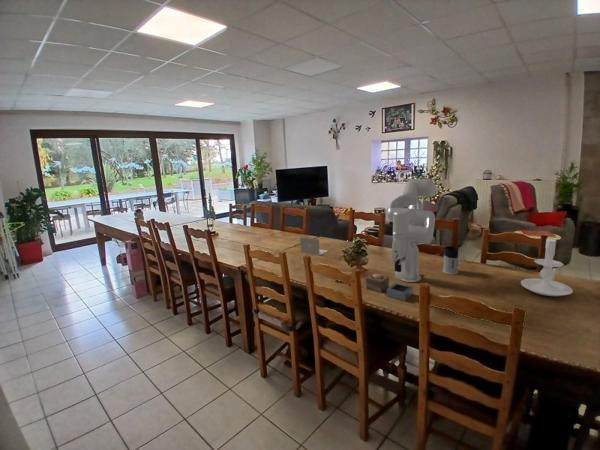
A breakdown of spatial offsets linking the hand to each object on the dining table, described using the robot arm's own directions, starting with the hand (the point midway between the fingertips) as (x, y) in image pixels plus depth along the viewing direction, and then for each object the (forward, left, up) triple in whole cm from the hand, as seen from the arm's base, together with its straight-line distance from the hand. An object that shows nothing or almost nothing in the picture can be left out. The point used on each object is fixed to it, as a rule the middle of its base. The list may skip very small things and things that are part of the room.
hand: (400, 269), depth 160 cm
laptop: (-35, -86, -15) cm, 94 cm away
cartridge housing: (0, 0, -14) cm, 14 cm away
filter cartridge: (0, 0, -5) cm, 5 cm away
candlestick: (-46, +57, -14) cm, 74 cm away
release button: (-2, -14, -13) cm, 19 cm away
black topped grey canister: (-46, +13, -14) cm, 50 cm away
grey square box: (-2, -14, -14) cm, 20 cm away
